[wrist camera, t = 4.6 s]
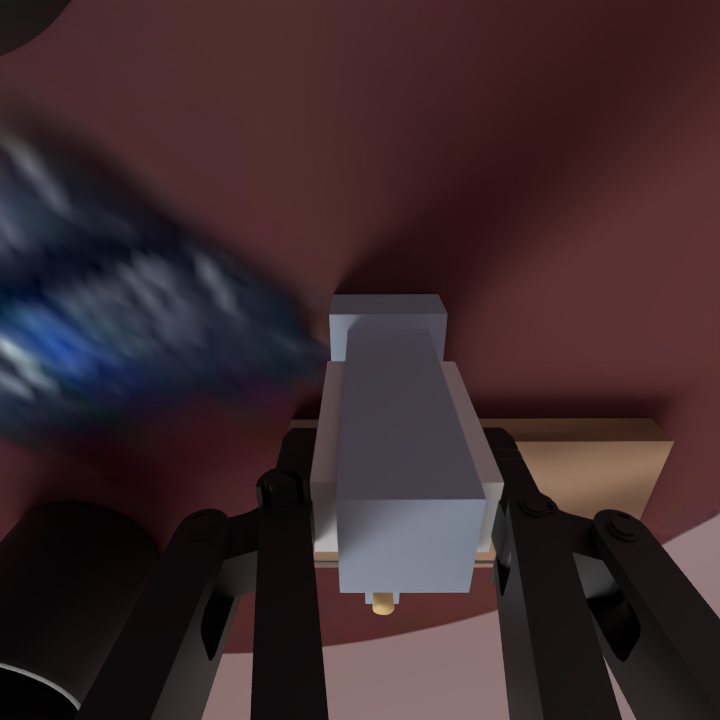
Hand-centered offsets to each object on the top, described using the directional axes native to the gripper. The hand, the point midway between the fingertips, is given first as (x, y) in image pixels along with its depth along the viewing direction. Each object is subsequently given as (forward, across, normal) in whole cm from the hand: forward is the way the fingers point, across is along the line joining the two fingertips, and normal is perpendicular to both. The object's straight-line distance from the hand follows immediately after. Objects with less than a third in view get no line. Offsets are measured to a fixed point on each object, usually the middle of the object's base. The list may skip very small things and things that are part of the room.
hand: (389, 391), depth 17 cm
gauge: (+5, 0, -7) cm, 8 cm away
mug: (+5, -19, -17) cm, 26 cm away
